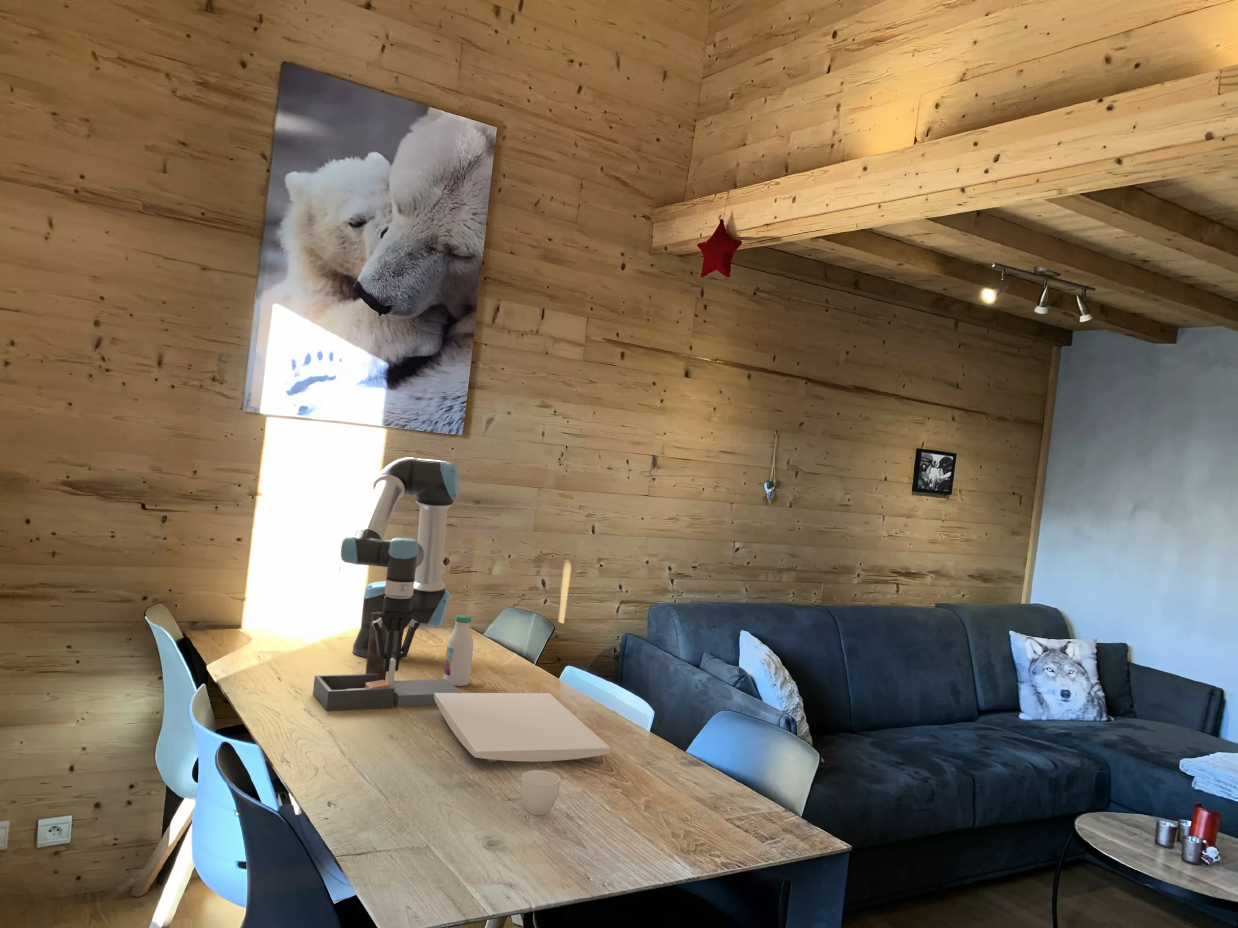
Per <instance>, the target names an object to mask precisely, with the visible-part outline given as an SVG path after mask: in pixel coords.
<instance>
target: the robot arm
mask: <svg viewBox="0 0 1238 928" xmlns="http://www.w3.org/2000/svg"><path fill="white" fill-rule="evenodd" d="M459 494H460V472H459V468H458V466H457V465H456V463H454V462H451V461H450V462H449V461H446V460H437V459H427V458H415V457H403V458H399V459H396V460H394V461H392V462H391V463H389V464H388V465H386V466H385V467H384V468H383V469H382V470H381V471H380V472H379V473H378V474H377V475H376V478H375V480H374V482H373V493H372V495H371V498H370V500H369V503H368V505H367V507H366V509H365V512H364V515H363V517H362V519H361V521H360V524H359V526H358V528H357V530H356V533H355V535H346V536H345V537H344V538H343V540H342V542H341V546H340V547H341V548H340V558H341V561H342V562H344V563H348V564H354V565H363V566H370V567H371V566H374V567H382V568H387V570H386V578H385V580H383V581H375V582H370V583H368V584H367V585H366V586H365V592H364V595H363V605H362V613H361V623H360V624H361V625H360V630H359V631H358V634H357V636H356V638H355V640H354V643H353V646H352V653H353V654H354V655H355V656H358V657H362V658H367V654H368V645H369V634H370V624H372V626H373V628H374V631H375V639H376V646H377V653H378V655H379V656H380V657H381V658H384V665H383V670H384V671H385V672H386V678H385V681H386V682H387V683H388V684H389V685H391V684H394V681H395V673H396V672H398V671H399V667H400V661H401V660H402V658H406V657H407V656H408V653H409V651H410V648H411V645H412V641H413V639H414V635H416V634H415V633H416V631H417V629H419V627H420V626H423V627H439V626H441V625H442V623H443V621H444V618H445V616H446V611H447V607H448V604H449V601H450V592H449V591H448V590H446V584H445V582H443V581H442V576H443V575H442V574H443V562H444V553H445V542H446V539H445V538H446V531H447V519H448V510H449V508H450V507H452V506H453V505H454V501H456V500H458V499H459ZM404 495H413V496H416V497H415V502H416V503H417V505H418V506H419V517H418V518H419V519H418V531H417V540H416V539H414V538H409V537H393V538H392V539H384V537H385V535H386V532H387V530H388V526H389V524H390V521H391V519H392V516H393V513H394V511H395V509H396V506H397V503H398V501H399V500H400V499H401V498H402V497H403V496H404ZM372 612H382V614H381V616H380V618H379V619H378V620H376V621H372V622H371V613H372ZM382 622H383V624H384V626H385V627H386V641H385V650H384V646H383V639H382V632H381V627H382ZM407 627H408V629H407V631H406V634H405V637H404V636H403V635H404V633H405V629H406V628H407ZM394 631H395V641H394V653H393V658H391V653H392V644H393V635H394ZM403 637H404V640H403Z"/></svg>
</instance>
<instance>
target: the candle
mask: <svg viewBox="0 0 1238 928" xmlns="http://www.w3.org/2000/svg"><path fill="white" fill-rule="evenodd" d="M381 614H382V612H372V613H371V622H372V621H376V620H378V619H379V618H380V616H381ZM381 632H382V639H383V646H384V650H385V641H386V627H385V626H384V624H383V622H382V627H381ZM394 641H395V631H394V635H393V644H392V653H391V658H393V653H394ZM365 665H366V666H365V674H379V680H385V678H386V672H385V671H384V670H383V665H384V658H381V657H380V656H379V655H378V653H377V646H376V639H375V631H374V628H373V626H372V624H370V634H369V645H368V654H367V657H366V664H365Z"/></svg>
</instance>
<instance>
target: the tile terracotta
mask: <svg viewBox="0 0 1238 928" xmlns="http://www.w3.org/2000/svg"><path fill="white" fill-rule="evenodd" d="M374 688H389V684H388V683H387V682H386V681H385V680H379V681H373V682H367V683H365V689H374Z"/></svg>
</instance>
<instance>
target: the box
mask: <svg viewBox="0 0 1238 928" xmlns="http://www.w3.org/2000/svg"><path fill="white" fill-rule="evenodd" d="M373 681H379V674H366V673H359V674H357V673H356V674H355V673H354V674H326V675H325V674H323V675H318V674H317V675H314V681H313V690H312V695H313V697H314V698H315V699H316V700H317V702H319V704H320V705H321V706H322V708H323V709H324V710H325V711H326V712H334V711H336V712H337V711H355V710H356V711H357V710H373V709H375V710H376V709H377V710H378V709H391V708H393V706H394V703H393V699H394V690H395V689H394V688H374V689H357V688H365V683H367V682H373ZM346 689H348V690H346Z"/></svg>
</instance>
